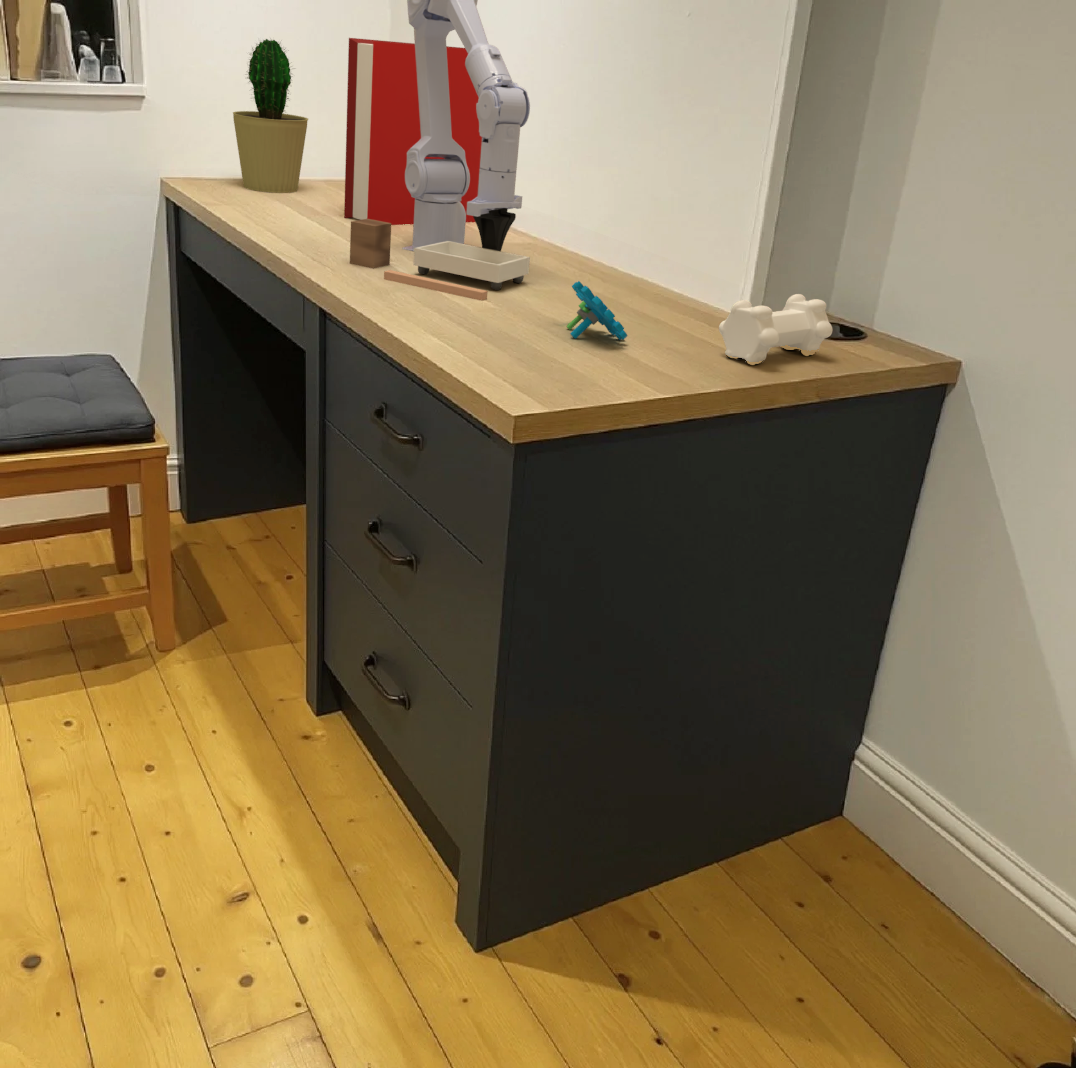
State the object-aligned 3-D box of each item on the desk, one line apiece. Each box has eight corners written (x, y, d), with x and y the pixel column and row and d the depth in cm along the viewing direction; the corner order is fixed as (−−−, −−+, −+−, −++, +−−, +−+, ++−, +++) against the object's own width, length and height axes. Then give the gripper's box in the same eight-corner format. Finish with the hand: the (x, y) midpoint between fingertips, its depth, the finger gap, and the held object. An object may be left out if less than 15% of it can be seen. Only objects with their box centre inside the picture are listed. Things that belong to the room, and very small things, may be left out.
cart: (446, 265, 180) (447, 240, 178) (527, 282, 175) (530, 257, 173) (412, 274, 172) (414, 248, 170) (497, 292, 166) (499, 265, 165)
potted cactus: (322, 193, 238) (324, 41, 226) (260, 195, 228) (259, 36, 215) (280, 181, 248) (280, 35, 235) (219, 183, 237) (216, 30, 225)
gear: (639, 338, 145) (592, 280, 141) (606, 369, 145) (558, 312, 141) (614, 327, 155) (569, 273, 151) (583, 356, 155) (538, 303, 152)
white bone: (781, 348, 157) (788, 290, 155) (832, 358, 151) (840, 298, 149) (712, 359, 148) (717, 297, 145) (763, 370, 142) (770, 307, 139)
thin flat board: (460, 262, 186) (460, 253, 185) (550, 281, 179) (551, 271, 179) (383, 281, 167) (384, 271, 166) (481, 303, 161) (482, 292, 160)
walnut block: (366, 263, 179) (367, 218, 176) (389, 267, 177) (391, 223, 174) (349, 266, 175) (350, 221, 172) (373, 271, 173) (374, 226, 170)
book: (367, 226, 209) (373, 41, 195) (344, 218, 214) (348, 37, 201) (480, 221, 226) (493, 51, 212) (456, 214, 231) (467, 48, 218)
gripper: (498, 176, 164) (490, 268, 170) (541, 170, 176) (533, 256, 182) (457, 169, 167) (451, 260, 172) (503, 164, 179) (496, 249, 184)
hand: (491, 257), depth 177 cm, fingers closed
